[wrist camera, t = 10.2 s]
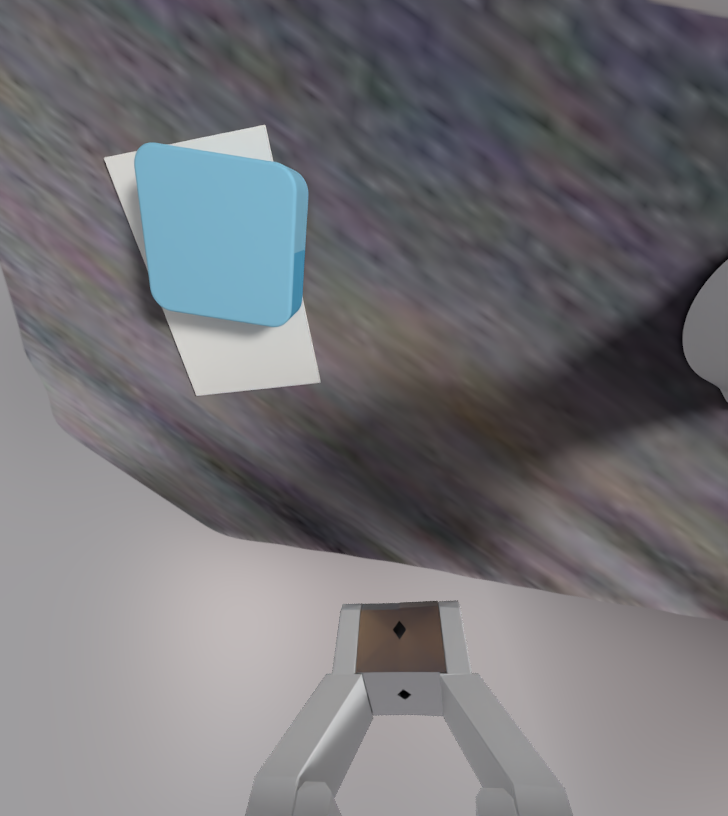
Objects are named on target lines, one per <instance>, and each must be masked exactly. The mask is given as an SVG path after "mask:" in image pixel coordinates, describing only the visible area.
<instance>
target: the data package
mask: <svg viewBox="0 0 728 816" xmlns="http://www.w3.org/2000/svg"><path fill="white" fill-rule="evenodd" d="M134 168H135V176H136V183H137V191H138V199H139V206H140V214H141V221H142V229H143V237H144V244H145V252H146V260H147V267H148V275H149V282H150V290H151V293H152V296H153V298H154V299H155V301H156V302H157V303H158V304H159V305H160V306H161V307H163V308H164V309H166V310H169V311H173V312H180V313H186V314H192V315H199V316H205V317H211V318H218V319H224V320H230V321H236V322H243V323H249V324H255V325H262V326H268V327H279V326H282V325H284V324H285V323H286V322H287V321H288V320H289V319H290V318H291V317H292V316H293V315H294V314H295V313H296V312H297V311H298V310H299V309H300V307H301V304H302V293H303V276H304V259H305V243H306V226H307V209H308V188H307V185H306V182H305V180H304V179H303V177H302V176H301V175H300V174H299V173H298V172H296V171H295V170H293V169H291V168H288V167H286V166H284V165H282V164H280V163H277V162H272V161H266V160H260V159H253V158H247V157H241V156H235V155H228V154H222V153H216V152H210V151H203V150H197V149H191V148H185V147H178V146H172V145H166V144H160V143H146V144H144V145H142V146H141V147H140V148H139V149H138V150H137V152H136V155H135V159H134Z"/></svg>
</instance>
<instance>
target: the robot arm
mask: <svg viewBox="0 0 728 816" xmlns="http://www.w3.org/2000/svg"><path fill="white" fill-rule="evenodd" d="M683 350H684V354H685V357H686V359H687V362H688V363H689V365H690V367H691V368H692V369H693V370H694V371H695V372H696V373H697V374H698V375H699V376H700V377H702V378H703V379H705V380H707V381H709V382H710V383H712V384H714V385H716V386H717V387H718V388H720V390H721V392H722V394H723V396H724V398H725V399H726V401H727V402H728V260H727V261H725V262H724V263H723V264H722V265H721V266H720V267H719V268H718V269H717V270H716V271H715V272H714V273H713V274H712V275H711V277H710V278H709V279H708V280H707V281H706V283H705V284H704V285H703V287H702V288H701V290H700V291H699V293H698V294H697V296H696V298H695V299H694V301H693V303H692V305H691V307H690V309H689V312H688V314H687V317H686V321H685V324H684V329H683ZM372 715H428V716H444V719H445V721H446V722H447V725H448V726H449V728H450V730H451V732H452V733H453V735H454V737H455V739H456V741H457V742H458V744H459V746H460V747H461V750H462V751H463V753H464V755H465V757H466V759H467V760H468V762H469V764H470V765H471V767H472V769H473V771H474V773H475V774H476V776H477V778H478V779H479V781H480V784H481V785H482V787H483V788H481V789H480V791H479V793H478V794H477V796H476V816H573V814H572V810H571V807H570V804H569V800H568V797H567V794H566V790H565V788H564V787H563V785H562V784H561V783H560V781H559V780H558V779H557V777H556V776H555V775H554V773H553V772H552V771H551V769H550V768H549V767H548V766H547V764H546V763H545V761H544V760H543V759H542V757H541V756H540V755H539V753H538V752H537V751H536V749H535V748H534V747H533V746H532V744H531V743H530V741H529V740H528V739H527V737H526V736H525V735H524V733H523V732H522V731H521V730H520V728H519V727H518V726H517V724H516V723H515V721H514V720H513V719H512V718H511V716H510V715H509V713H508V712H507V711H506V710H505V708H504V707H503V706H502V704H501V703H500V702H499V700H498V699H497V698H496V696H495V695H494V694H493V692H492V691H491V690H490V688H489V687H488V686H487V685H486V683H485V682H484V680H483V679H482V678H481V676H480V675H479V674H478V673H472V672H471V666H470V660H469V654H468V648H467V643H466V637H465V631H464V626H463V620H462V614H461V608H460V604H459V602H458V601H439V602H438V601H425V602H404V603H386V604H385V603H383V604H343V605H342V609H341V611H340V619H339V626H338V633H337V641H336V648H335V656H334V663H333V670H332V674H326V675H325V677H324V678H323V680H322V681H321V682H320V684H319V685H318V687H317V688H316V690H315V691H314V692H313V694H312V695H311V697H310V698H309V700H308V701H307V703H306V704H305V705H304V707H303V708H302V710H301V711H300V712H299V714H298V715H297V717H296V718H295V720H294V721H293V723H292V724H291V725H290V727H289V728H288V730H287V731H286V733H285V734H284V736H283V737H282V738H281V740H280V741H279V743H278V744H277V746H276V747H275V749H274V750H273V751H272V753H271V754H270V756H269V757H268V758H267V760H266V761H265V763H264V764H263V766H262V767H261V768H260V770H259V772H258V773H257V774H256V776H255V778H254V782H253V786H252V790H251V794H250V798H249V802H248V806H247V810H246V814H245V816H342V815H341V813H340V811H339V808H338V806H337V804H336V802H335V799H334V798H335V796H336V794H337V792H338V790H339V788H340V786H341V783H342V781H343V779H344V777H345V775H346V773H347V771H348V769H349V767H350V765H351V762H352V761H353V759H354V757H355V755H356V753H357V750H358V748H359V746H360V744H361V742H362V740H363V738H364V736H365V734H366V732H367V730H368V728H369V726H370V724H371V721H372V719H373V716H372Z"/></svg>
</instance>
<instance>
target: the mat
mask: <svg viewBox="0 0 728 816" xmlns="http://www.w3.org/2000/svg"><path fill="white" fill-rule="evenodd" d="M169 145H172V146H178V147H185V148H191V149H197V150H203V151H210V152H216V153H222V154H228V155H235V156H241V157H247V158H253V159H260V160H266V161H272V162H273V158H272V153H271V149H270V144H269V139H268V135H267V130H266V126H265V125H262V126H257V127H252V128H247V129H242V130H237V131H233V132H228V133H223V134H218V135H213V136H208V137H203V138H198V139H194V140H189V141H184V142H179V143H174V144H169ZM136 152H137V151H135V152H130V153H125V154H120V155H115V156H111V157H106V158H104V160H105V163H106V165H107V168H108V170H109V173H110V176H111V178H112V181H113V183H114V186H115V188H116V191H117V194H118V196H119V199H120V201H121V204H122V206H123V209H124V211H125V214H126V217H127V219H128V222H129V224H130V227H131V229H132V232H133V235H134V237H135V240H136V242H137V245H138V247H139V250H140V252H141V255H142V258H143V260H144V263H145V265H146V268H147V270H148V267H147V260H146V252H145V244H144V237H143V229H142V221H141V214H140V206H139V199H138V191H137V183H136V176H135V168H134V159H135V155H136ZM162 309H163V311H164V314H165V317H166V319H167V322H168V324H169V327H170V329H171V332H172V334H173V337H174V340H175V342H176V345H177V347H178V350H179V352H180V355H181V358H182V360H183V363H184V365H185V368H186V370H187V373H188V375H189V378H190V381H191V383H192V386H193V388H194V391H195V393H196V396H200V395H210V394H219V393H228V392H238V391H247V390H256V389H266V388H275V387H284V386H294V385H303V384H312V383H320V382H321V381H320V376H319V371H318V367H317V362H316V357H315V353H314V348H313V344H312V339H311V334H310V330H309V325H308V320H307V316H306V311H305V306H304V302H303V297H302V304H301V307H300V309H299V310H298V311H297V312H296V313H295V314H294V315H293V316H292V317H291V318H290V319H289V320H288V321H287V322H286V323H285V324H284V325H282V326H279V327H268V326H262V325H255V324H249V323H243V322H236V321H230V320H224V319H218V318H211V317H205V316H199V315H192V314H186V313H180V312H173V311H169V310H166V309H164V308H163V307H162Z"/></svg>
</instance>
